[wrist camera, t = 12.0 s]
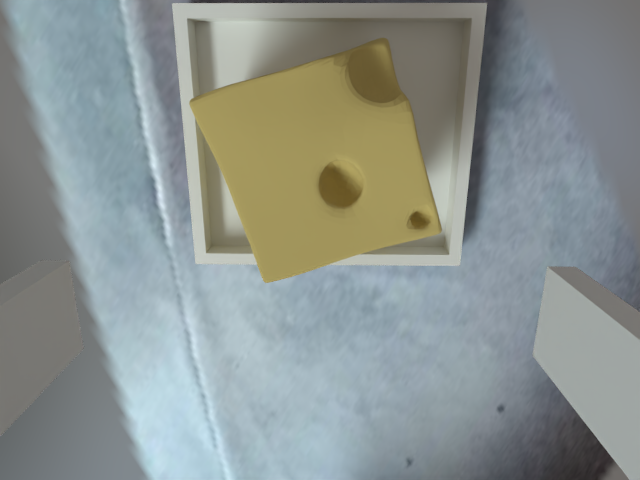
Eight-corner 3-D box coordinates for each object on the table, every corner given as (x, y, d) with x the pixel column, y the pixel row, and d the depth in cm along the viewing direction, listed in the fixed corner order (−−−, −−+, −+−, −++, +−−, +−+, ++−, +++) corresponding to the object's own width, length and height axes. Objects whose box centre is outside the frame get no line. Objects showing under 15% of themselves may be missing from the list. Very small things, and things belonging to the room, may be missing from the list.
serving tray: (450, 253, 35) (459, 265, 33) (204, 251, 35) (195, 264, 33) (474, 9, 30) (487, 2, 27) (184, 9, 30) (172, 3, 28)
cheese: (377, 40, 30) (401, 20, 20) (416, 198, 33) (453, 245, 23) (225, 91, 31) (179, 94, 21) (277, 239, 34) (258, 299, 24)
